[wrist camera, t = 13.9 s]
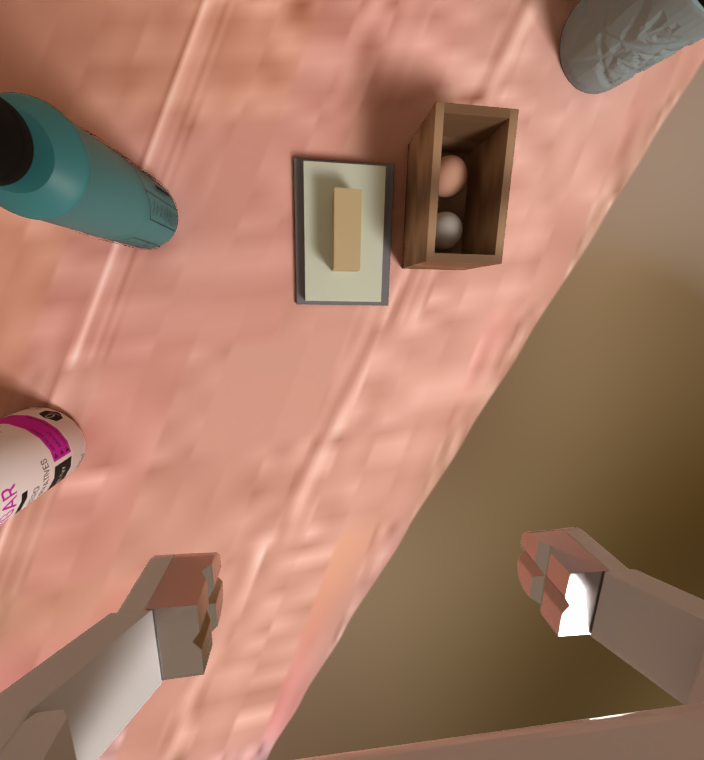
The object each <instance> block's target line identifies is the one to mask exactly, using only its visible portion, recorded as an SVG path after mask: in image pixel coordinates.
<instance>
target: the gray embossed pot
mask: <svg viewBox="0 0 704 760" xmlns="http://www.w3.org/2000/svg"><path fill="white" fill-rule="evenodd" d="M702 38H704V0H581V1H580V2H579V3H578V4H577V5H576V7H575V8H574V9H573V11H572V12H571V14H570V16H569V17H568V19H567V21H566V23H565V26H564V28H563V31H562V35H561V40H560V60H561V65H562V68H563V71H564V73H565V75H566V77H567V79H568V80H569V82H570V83H571V84H572V85H573V86H574V87H575V88H576V89H578V90H580V91H582V92H585V93H589V94H599V93H602V92H606V91H608V90H610V89H612V88H614V87H616V86H618V85H620V84H621V83H623V82H625V81H627V80H629V79H630V78H632V77H633V76H634V75H635V74H636V73H639V72H641V71H644V70H646V69H647V68H649V67H651V66H653V65H655V64H656V63H658V62H660V61H662V60H664V59H665V58H667V57H670V56H671V55H673V54H675V53H676V52H677V51H678V50H680V49H682V48H683V47H685V46H687V45H691V44H693V43H695V42H697V41H699V40H700V39H702Z"/></svg>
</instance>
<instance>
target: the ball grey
mask: <svg viewBox="0 0 704 760" xmlns="http://www.w3.org/2000/svg"><path fill="white" fill-rule="evenodd" d="M462 231H463V228H462V223H461V220H460V219H459V217H458V216H457V215H455V214H454V213H451V212H441V213H438V214H437V223H436V238H435V249H438V250H447V249H450V248H452V247H454V246H455V245H456V244H457V243H458V241H459V240H460V238H461V236H462Z"/></svg>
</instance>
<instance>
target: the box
mask: <svg viewBox="0 0 704 760" xmlns="http://www.w3.org/2000/svg"><path fill="white" fill-rule="evenodd" d="M518 111H519V109H509V108H498V107H487V106H476V105H464V104H453V103H442V102H436V103H435V105H434V106H433V108H432V109H431V111H430V112H429V114H428V115H427V117H426V118H425V120H424V122H423V123H422V125H421V126H420V128H419V129H418V131H417V132H416V134H415V135H414V137H413V138H412V140H411V141H410V143H409V144H408V161H407V182H406V202H405V222H404V243H403V263H402V268H406V269H441V270H467V269H473V268H478V267H484V266H490V265H496V264H501V263H502V254H503V245H504V236H505V227H506V218H507V209H508V201H509V192H510V183H511V174H512V165H513V156H514V147H515V138H516V129H517V120H518ZM447 155H455V156H458V157H459V158H461V159H462V160H463V161H464V163H465V165H466V167H467V179H466V183H465V185H464V187H463V188H462V189H461V190H460V191H459V192H458V193H457V194H456V195H454V196H451V197H440V196H438V194H439V180H440V165H441V158H442V157H444V156H447ZM441 212H451V213H454V214H455V215H457V216H458V217H459V219H460V220H461V223H462V228H463V231H462V236H461V238H460V240H459V241H458V243H457V244H456V245H455V246H454V247H452V248H450V249H447V250H438V249H435V238H436V223H437V214H438V213H441Z"/></svg>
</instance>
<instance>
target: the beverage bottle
mask: <svg viewBox="0 0 704 760" xmlns="http://www.w3.org/2000/svg"><path fill="white" fill-rule="evenodd" d="M91 135H92V134H88V133H87V132H86V131H85V130H83V129H81V128H80V127H79V126H77V125H76V124H74V123H73V122H72V121H70V120H69V119H68V118H67V117H65V116H64V115H63V114H62V113H61V112H60V111H58V110H57V109H56V108H54V107H53V106H51V105H50V104H48V103H46V102H44V101H42V100H40V99H38V98H35V97H32V96H30V95H26V94H22V93H14V92H4V93H0V206H1V207H3V208H4V209H6V210H8V211H10V212H12V213H14V214H17V215H19V216H23V217H26V218H30V219H36V220H41V221H45V222H48V223H52V224H56V225H59V226H63V227H66V228H70V229H73V230H77V231H81V232H83V233H86V234H89V235H93V236H95V237H100V238H104V241H105V239H108V240H109V241H108V242H110V241H111V240H112V241H116V242H119V243H123V244H124V246H127V245H130V246H135V247H138V248H144V249H145V248H149V249H150V248H151V250H152V248H156V247H158V248H159V247H160V246H161V245H163V244H165V243H166V242H167V241H169V240H170V239H171V237H172V236H173V235H174V233H175V230H176V228H177V224H178V215H177V213H178V211H177V209H176V206H175V204H176V203H175V204H174V201H173V199H172V197H171V195H170V194H171V193H170V194H169V193H168V192H167V191H168V189H165V188H163V187H162V186H161V185H160V184H159V183H160V182H159V181H158V180H157V181H158V182H159V183H157V182H156V181H155V180H153V179H152V178H151V177H150V176H151V175H150V176H149V174H148V175H146V174H147V172H145V173H146V174H145V173H143V171H142V170H139V169H138V167H135V166H134V164H133V163H132V164H133V165H132V164H131V163H130V162H128V161H127V160H126V159H128V158H127V157H124V156H122V155H121V153H118V152H117V153H118V154H117V153H116V151H117V150H116V149H115V150H116V151H115V150H114V151H113V150H112V149H110V147H108V146H106V145H105V144H103V143H102V142H100V141H99V140H97V139H96V138H94V137H93V136H91ZM94 136H95V135H94ZM107 144H108V143H107ZM119 154H120V155H121V156H122V157H121V156H120V155H119ZM123 157H124V158H126V159H124V158H123ZM154 179H155V178H154ZM161 184H162V183H161ZM166 190H167V191H166ZM80 234H81V233H80ZM88 237H89V236H88ZM112 243H113V242H112ZM114 243H115V242H114ZM116 244H117V243H116ZM125 244H127V245H125ZM120 245H121V244H120ZM128 247H129V246H128ZM132 248H133V247H132Z"/></svg>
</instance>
